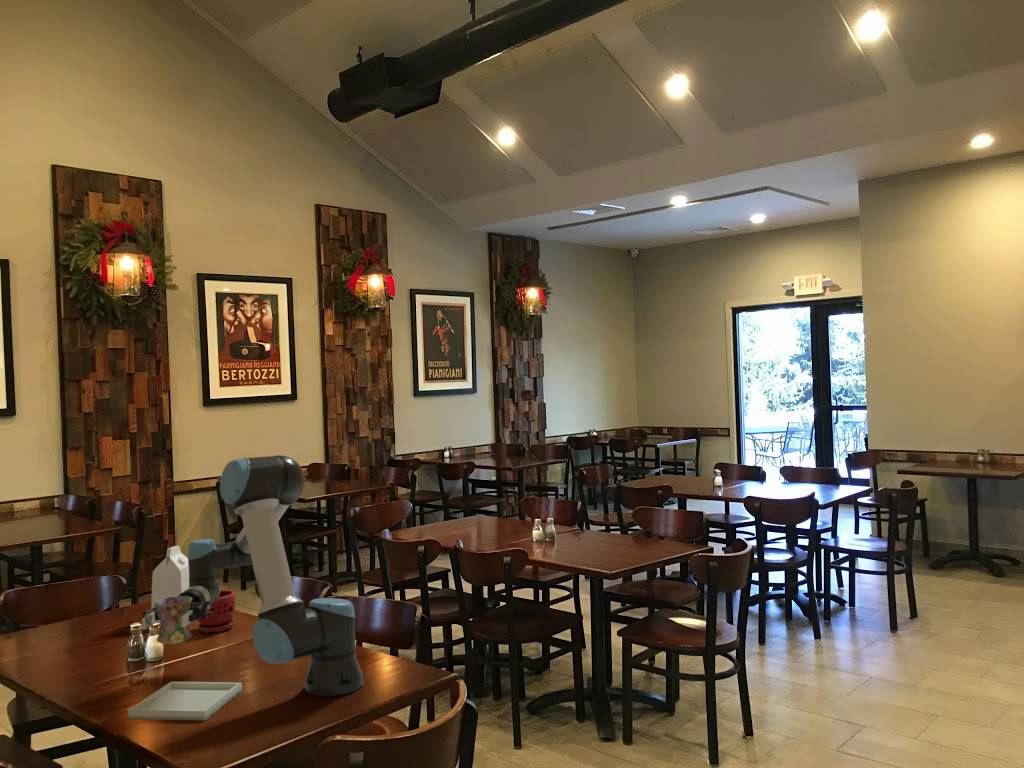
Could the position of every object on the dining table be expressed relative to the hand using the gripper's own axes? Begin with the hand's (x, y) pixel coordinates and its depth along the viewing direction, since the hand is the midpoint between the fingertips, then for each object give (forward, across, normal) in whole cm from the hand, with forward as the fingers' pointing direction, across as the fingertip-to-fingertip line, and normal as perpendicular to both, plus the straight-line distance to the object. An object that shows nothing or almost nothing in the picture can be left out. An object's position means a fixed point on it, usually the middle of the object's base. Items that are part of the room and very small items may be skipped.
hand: (163, 623), depth 214 cm
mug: (-4, 0, -6) cm, 7 cm away
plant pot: (-71, +8, -21) cm, 74 cm away
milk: (-84, +26, -20) cm, 91 cm away
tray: (0, -5, -21) cm, 22 cm away
